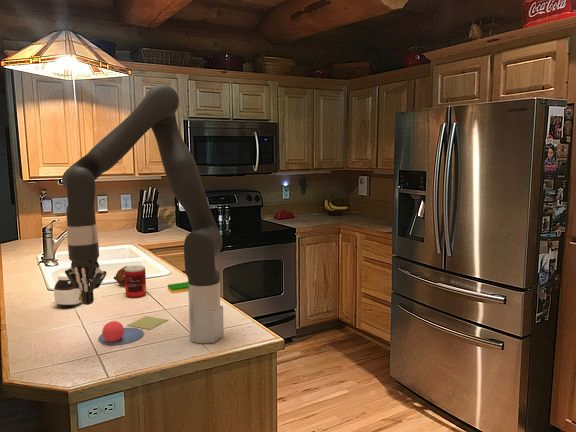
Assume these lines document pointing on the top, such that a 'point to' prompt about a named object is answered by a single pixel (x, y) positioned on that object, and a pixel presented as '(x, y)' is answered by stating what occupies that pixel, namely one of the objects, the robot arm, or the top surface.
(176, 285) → the dish sponge
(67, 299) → the spread jar
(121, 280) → the brown oval piece
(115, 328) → the ball
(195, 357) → the top surface
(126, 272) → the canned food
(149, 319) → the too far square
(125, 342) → the disc
